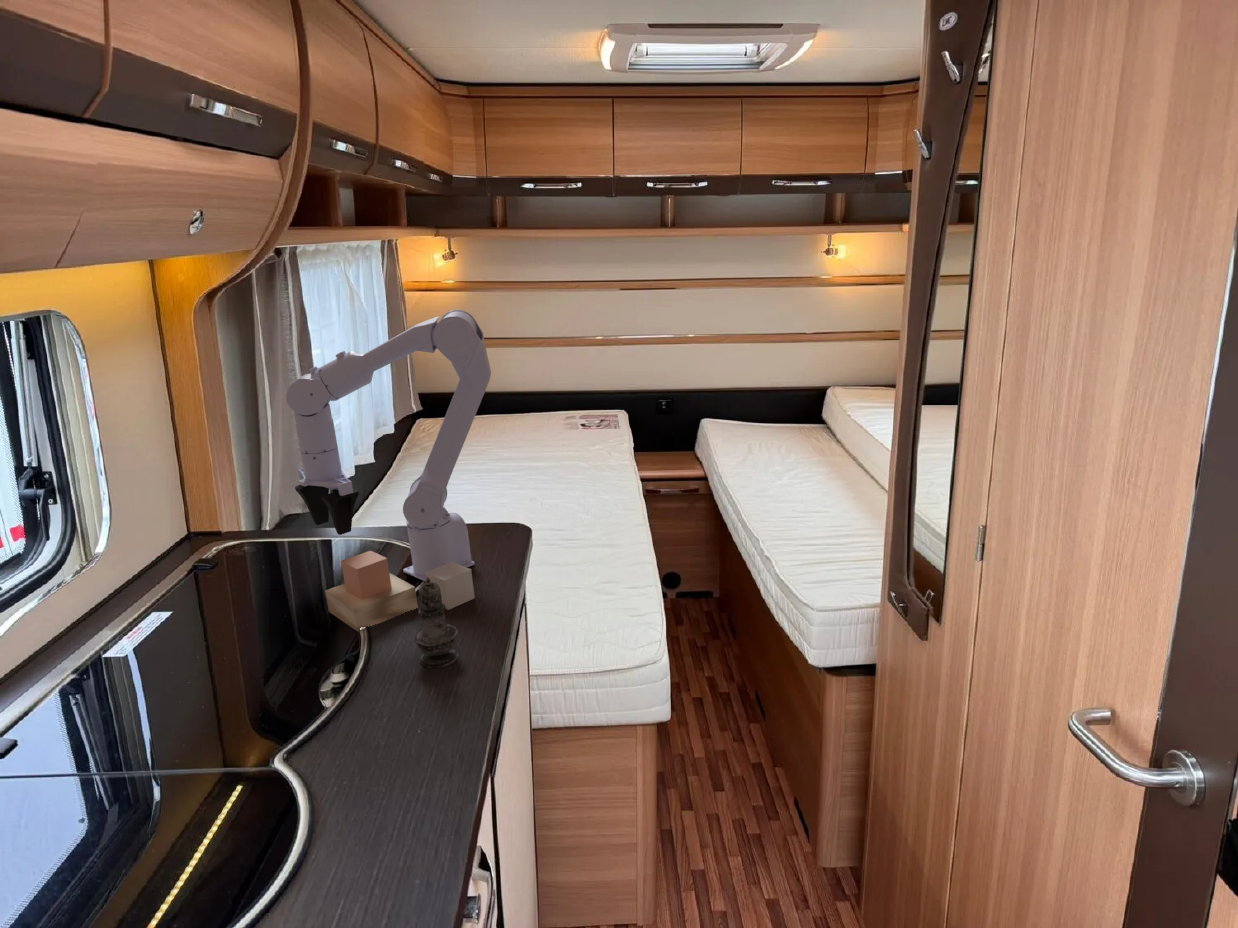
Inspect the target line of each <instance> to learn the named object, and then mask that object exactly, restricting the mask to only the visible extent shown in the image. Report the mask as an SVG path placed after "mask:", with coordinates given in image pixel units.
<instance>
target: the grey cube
mask: <svg viewBox="0 0 1238 928" xmlns="http://www.w3.org/2000/svg"><path fill="white" fill-rule="evenodd" d="M472 574H473V573H472V568H469V567H467V568H466V567H464V566H461V565H459V564H456V563H454V562H451V563H448V564H446V565H443V566H441V567H438V568H436V569H433V570H431V571H428V572H426V578H427V577H428V578H429V579H430V582H433V583H436V584H438V585H439V587H440V591H441V598H442V604H444V605H445V606H446V609H445V610H452V609H453V608H454V609H455V607H458V606H460V605H463V604H464V603H465V604H466V603H467V602H469V601H471V600H474V599H475V589H474V583H473V582H474V581H473V575H472Z"/></svg>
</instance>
